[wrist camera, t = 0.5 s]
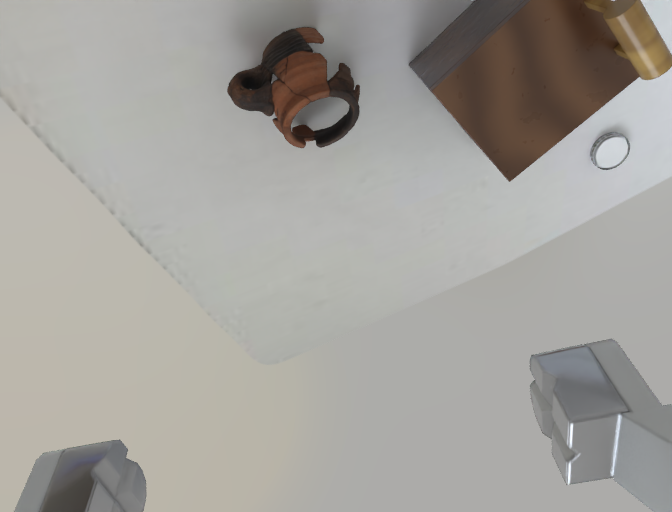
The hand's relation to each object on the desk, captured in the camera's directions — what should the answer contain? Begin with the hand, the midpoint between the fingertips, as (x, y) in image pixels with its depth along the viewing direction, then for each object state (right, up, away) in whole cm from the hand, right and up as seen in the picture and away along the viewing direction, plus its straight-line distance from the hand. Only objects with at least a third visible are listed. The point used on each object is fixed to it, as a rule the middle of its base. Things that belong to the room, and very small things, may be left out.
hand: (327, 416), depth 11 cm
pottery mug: (-4, +20, +43) cm, 48 cm away
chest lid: (+17, +18, +37) cm, 44 cm away
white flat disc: (+30, +15, +50) cm, 60 cm away
